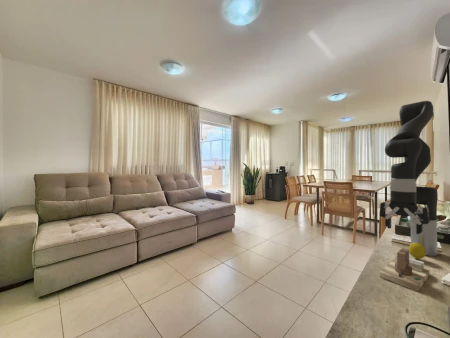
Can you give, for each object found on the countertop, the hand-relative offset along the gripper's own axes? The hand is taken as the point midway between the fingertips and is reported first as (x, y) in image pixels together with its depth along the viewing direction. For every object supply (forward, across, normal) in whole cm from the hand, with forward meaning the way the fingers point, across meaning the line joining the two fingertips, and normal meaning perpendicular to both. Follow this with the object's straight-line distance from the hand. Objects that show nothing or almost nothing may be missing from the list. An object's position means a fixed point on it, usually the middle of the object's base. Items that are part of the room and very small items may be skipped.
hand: (403, 230), depth 75 cm
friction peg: (+17, 0, +1) cm, 17 cm away
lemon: (+19, 0, -24) cm, 30 cm away
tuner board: (+18, 0, -2) cm, 19 cm away
